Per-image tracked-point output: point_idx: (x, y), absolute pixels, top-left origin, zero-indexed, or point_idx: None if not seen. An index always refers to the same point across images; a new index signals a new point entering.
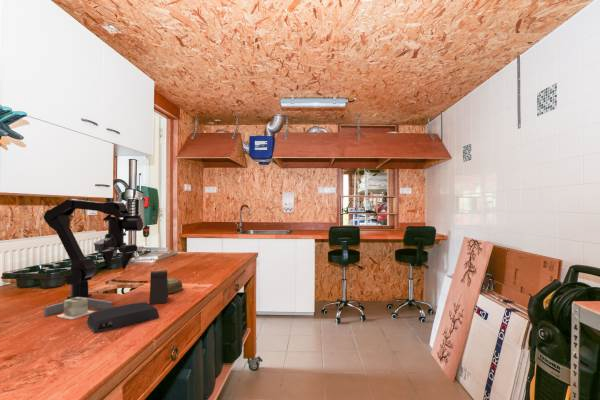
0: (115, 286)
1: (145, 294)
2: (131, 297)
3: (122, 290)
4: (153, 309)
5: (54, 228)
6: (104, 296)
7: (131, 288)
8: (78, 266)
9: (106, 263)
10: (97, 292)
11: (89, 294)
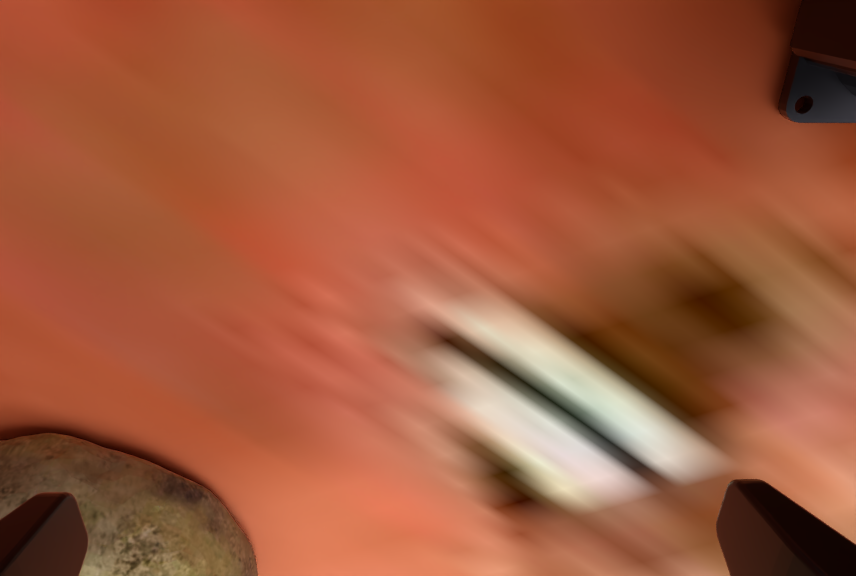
0: (789, 483)
1: (148, 391)
2: (172, 250)
3: (568, 409)
4: None
5: None
6: (562, 153)
7: (536, 489)
8: None
9: (828, 568)
10: (817, 250)
11: (812, 96)
